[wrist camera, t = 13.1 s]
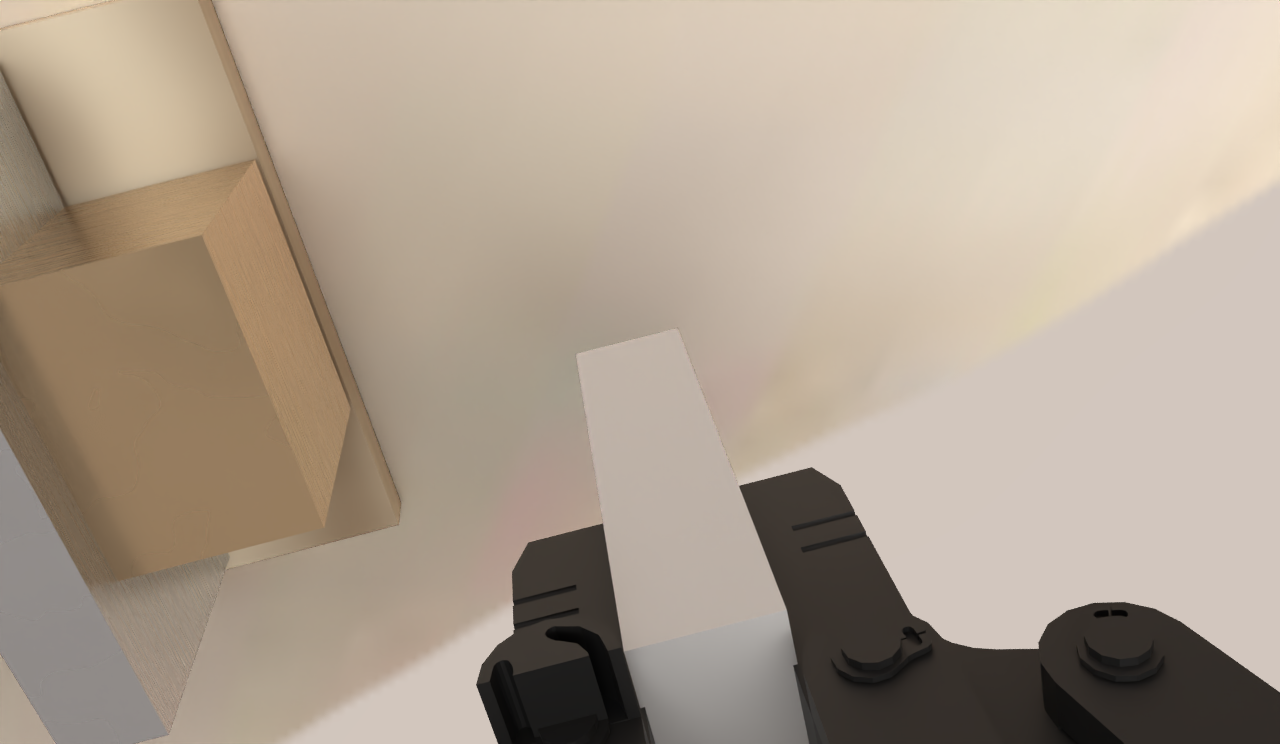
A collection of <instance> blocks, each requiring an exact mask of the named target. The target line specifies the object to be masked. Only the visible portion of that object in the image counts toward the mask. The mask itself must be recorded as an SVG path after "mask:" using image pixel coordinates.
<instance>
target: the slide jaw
mask: <svg viewBox="0 0 1280 744" xmlns="http://www.w3.org/2000/svg"><path fill="white" fill-rule="evenodd" d="M350 409H351V408H350V405H349V403H348V400H347V398H346V395H345V392H344V390H343V387H342V385H341V382H340V379H339V377H338V374H337V372H336V369H335V366H334V364H333V361H332V359H331V356H330V353H329V351H328V348H327V346H326V343H325V340H324V338H323V335H322V333H321V330H320V327H319V325H318V322H317V320H316V317H315V314H314V312H313V309H312V307H311V304H310V301H309V299H308V296H307V294H306V291H305V288H304V286H303V283H302V281H301V278H300V275H299V273H298V270H297V268H296V265H295V262H294V260H293V257H292V255H291V252H290V249H289V247H288V244H287V242H286V239H285V236H284V234H283V231H282V229H281V226H280V223H279V221H278V218H277V216H276V213H275V210H274V208H273V205H272V202H271V200H270V197H269V195H268V192H267V189H266V187H265V184H264V182H263V179H262V176H261V174H260V171H259V169H258V166H257V163H256V161H255V159H254V160H250V161H246V162H242V163H238V164H234V165H230V166H226V167H222V168H218V169H214V170H210V171H206V172H202V173H198V174H194V175H190V176H186V177H182V178H178V179H174V180H170V181H167V182H163V183H159V184H155V185H151V186H147V187H143V188H139V189H135V190H131V191H127V192H123V193H119V194H115V195H111V196H107V197H103V198H99V199H95V200H91V201H87V202H83V203H79V204H75V205H71V206H67V207H64V205H63V203H62V200H61V198H60V196H59V194H58V192H57V190H56V188H55V186H54V184H53V181H52V179H51V177H50V175H49V173H48V171H47V169H46V167H45V165H44V162H43V160H42V158H41V156H40V154H39V152H38V150H37V148H36V145H35V143H34V141H33V139H32V137H31V135H30V133H29V131H28V129H27V126H26V124H25V122H24V120H23V118H22V116H21V114H20V112H19V109H18V107H17V105H16V103H15V101H14V99H13V97H12V95H11V93H10V90H9V88H8V86H7V84H6V82H5V80H4V78H3V76H2V73H1V71H0V654H1V655H2V657H3V658H4V660H5V662H6V663H7V665H8V667H9V668H10V670H11V671H12V673H13V675H14V676H15V678H16V680H17V681H18V683H19V684H20V686H21V688H22V689H23V691H24V693H25V694H26V696H27V697H28V699H29V701H30V702H31V704H32V706H33V707H34V709H35V710H36V712H37V714H38V715H39V717H40V719H41V720H42V722H43V723H44V725H45V727H46V728H47V730H48V732H49V733H50V735H51V736H52V738H53V740H54V741H55V743H56V744H135V743H139V742H143V741H147V740H150V739H154V738H158V737H162V736H165V735H169V732H170V729H171V726H172V724H173V721H174V718H175V715H176V712H177V709H178V706H179V703H180V700H181V697H182V695H183V692H184V689H185V686H186V683H187V680H188V677H189V674H190V671H191V668H192V666H193V663H194V660H195V657H196V654H197V651H198V648H199V645H200V642H201V639H202V637H203V634H204V631H205V628H206V625H207V622H208V619H209V616H210V613H211V610H212V608H213V605H214V602H215V599H216V596H217V593H218V590H219V587H220V584H221V581H222V579H223V576H224V573H225V570H226V567H227V564H228V561H229V558H230V556H229V554H228V553H229V552H232V551H236V550H240V549H244V548H248V547H251V546H255V545H259V544H263V543H267V542H271V541H274V540H278V539H282V538H286V537H290V536H294V535H297V534H301V533H305V532H309V531H313V530H317V529H320V528H324V527H325V522H326V518H327V513H328V509H329V504H330V500H331V495H332V491H333V486H334V482H335V477H336V473H337V468H338V463H339V459H340V454H341V450H342V445H343V441H344V436H345V432H346V427H347V423H348V418H349V414H350Z"/></svg>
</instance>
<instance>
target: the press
mask: <svg viewBox="0 0 1280 744" xmlns="http://www.w3.org/2000/svg"><path fill="white" fill-rule="evenodd" d="M0 71H1V73H2V76H3V78H4V80H5V82H6V84H7V86H8V88H9V90H10V93H11V95H12V97H13V99H14V101H15V103H16V105H17V107H18V109H19V112H20V114H21V116H22V118H23V120H24V122H25V124H26V126H27V129H28V131H29V133H30V135H31V137H32V139H33V141H34V143H35V145H36V148H37V150H38V152H39V154H40V156H41V158H42V160H43V162H44V165H45V167H46V169H47V171H48V173H49V175H50V177H51V179H52V181H53V184H54V186H55V188H56V190H57V192H58V194H59V196H60V198H61V200H62V203H63V205H64V207H67V206H71V205H75V204H79V203H83V202H87V201H91V200H95V199H99V198H103V197H107V196H111V195H115V194H119V193H123V192H127V191H131V190H135V189H139V188H143V187H147V186H151V185H155V184H159V183H163V182H167V181H170V180H174V179H178V178H182V177H186V176H190V175H194V174H198V173H202V172H206V171H210V170H214V169H218V168H222V167H226V166H230V165H234V164H238V163H242V162H246V161H250V160H254V159H255V161H256V163H257V166H258V169H259V171H260V174H261V176H262V179H263V182H264V184H265V187H266V189H267V192H268V195H269V197H270V200H271V202H272V205H273V208H274V210H275V213H276V216H277V218H278V221H279V223H280V226H281V229H282V231H283V234H284V236H285V239H286V242H287V244H288V247H289V249H290V252H291V255H292V257H293V260H294V262H295V265H296V268H297V270H298V273H299V275H300V278H301V281H302V283H303V286H304V288H305V291H306V294H307V296H308V299H309V301H310V304H311V307H312V309H313V312H314V314H315V317H316V320H317V322H318V325H319V327H320V330H321V333H322V335H323V338H324V340H325V343H326V346H327V348H328V351H329V353H330V356H331V359H332V361H333V364H334V366H335V369H336V372H337V374H338V377H339V379H340V382H341V385H342V387H343V390H344V392H345V395H346V398H347V400H348V403H349V405H350V408H351V409H350V414H349V418H348V423H347V427H346V432H345V436H344V441H343V445H342V450H341V454H340V459H339V463H338V468H337V473H336V477H335V482H334V486H333V491H332V495H331V500H330V504H329V509H328V513H327V518H326V522H325V527H324V528H320V529H317V530H313V531H309V532H305V533H301V534H297V535H294V536H290V537H286V538H282V539H278V540H274V541H271V542H267V543H263V544H259V545H255V546H251V547H248V548H244V549H240V550H236V551H232V552H229V553H228V554H229V556H230V558H229V561H228V564H227V567H226V570H228V569H231V568H235V567H239V566H243V565H247V564H251V563H254V562H258V561H262V560H266V559H270V558H273V557H277V556H281V555H285V554H289V553H293V552H296V551H300V550H304V549H308V548H312V547H316V546H319V545H323V544H327V543H331V542H335V541H338V540H342V539H346V538H350V537H354V536H358V535H361V534H365V533H369V532H373V531H377V530H381V529H384V528H388V527H392V526H396V525H399V518H400V509H401V502H400V499H399V496H398V494H397V491H396V488H395V486H394V483H393V480H392V478H391V475H390V473H389V470H388V467H387V465H386V462H385V459H384V457H383V454H382V451H381V449H380V446H379V443H378V441H377V438H376V435H375V433H374V430H373V428H372V425H371V422H370V420H369V417H368V414H367V412H366V409H365V406H364V404H363V401H362V398H361V396H360V393H359V390H358V388H357V385H356V382H355V380H354V377H353V375H352V372H351V369H350V367H349V364H348V361H347V359H346V356H345V353H344V351H343V348H342V345H341V343H340V340H339V337H338V335H337V332H336V330H335V327H334V324H333V322H332V319H331V316H330V314H329V311H328V308H327V306H326V303H325V300H324V298H323V295H322V292H321V290H320V287H319V285H318V282H317V279H316V277H315V274H314V271H313V269H312V266H311V263H310V261H309V258H308V255H307V253H306V250H305V247H304V245H303V242H302V239H301V237H300V234H299V232H298V229H297V226H296V224H295V221H294V218H293V216H292V213H291V210H290V208H289V205H288V202H287V200H286V197H285V194H284V192H283V189H282V187H281V184H280V181H279V179H278V176H277V173H276V171H275V168H274V165H273V163H272V160H271V157H270V155H269V152H268V149H267V147H266V144H265V142H264V139H263V136H262V134H261V131H260V128H259V126H258V123H257V120H256V118H255V115H254V112H253V110H252V107H251V104H250V102H249V99H248V96H247V94H246V91H245V89H244V86H243V83H242V81H241V78H240V75H239V73H238V70H237V67H236V65H235V62H234V59H233V57H232V54H231V51H230V49H229V46H228V44H227V41H226V38H225V36H224V33H223V30H222V28H221V25H220V22H219V20H218V17H217V14H216V12H215V9H214V6H213V4H212V1H211V0H113V1H109V2H105V3H101V4H97V5H93V6H89V7H85V8H81V9H77V10H73V11H69V12H65V13H61V14H56V15H52V16H48V17H44V18H40V19H36V20H32V21H28V22H24V23H20V24H16V25H12V26H8V27H4V28H0Z"/></svg>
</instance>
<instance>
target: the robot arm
mask: <svg viewBox="0 0 1280 744" xmlns="http://www.w3.org/2000/svg"><path fill="white" fill-rule="evenodd" d="M576 360H577V366H578V372H579V378H580V384H581V391H582V397H583V403H584V409H585V415H586V421H587V428H588V434H589V440H590V446H591V452H592V458H593V465H594V471H595V477H596V483H597V489H598V495H599V502H600V508H601V514H602V520H603V524H600V525H596V526H592V527H588V528H584V529H580V530H576V531H572V532H568V533H564V534H560V535H556V536H552V537H549V538H545V539H541V540H537V541H533V542H529V543H528V544H527V546H526V548H525V550H524V551H523V553H522V555H521V557H520V559H519V561H518V562H517V564H516V566H515V568H514V570H513V571H512V583H513V603H514V606H513V620H514V621H513V623H514V628H515V630H514V634H513V635H512V636H510V637H509V638H507V639H506V640H505V641H503V642H502V643H500V644H499V645H497V647H496V648H495V649H494V650H493V652H492V653H491V654H490V655H489V657H488V658H487V659H486V660H485V662H484V663H483V664H482V667H481V670H480V674H479V677H478V681H477V684H476V685H477V688H478V691H479V693H480V696H481V699H482V701H483V704H484V707H485V710H486V712H487V715H488V718H489V720H490V723H491V726H492V728H493V731H494V734H495V736H496V739H497V742H498V744H1280V692H1278V691H1277V690H1276V689H1274V688H1273V687H1271V686H1270V685H1268V684H1267V683H1266V682H1264V681H1263V680H1261V679H1260V678H1259V677H1257V676H1256V675H1255V674H1253V673H1252V672H1250V671H1249V670H1248V669H1246V668H1245V667H1243V666H1242V665H1240V664H1239V663H1238V662H1236V661H1235V660H1234V659H1232V658H1231V657H1229V656H1228V655H1226V654H1225V653H1224V652H1222V651H1221V650H1219V649H1218V648H1217V647H1215V646H1214V645H1212V644H1211V643H1210V642H1208V641H1207V640H1205V639H1204V638H1203V637H1201V636H1200V635H1198V634H1197V633H1196V632H1194V631H1193V630H1191V629H1190V628H1188V627H1187V626H1186V625H1184V624H1183V623H1182V622H1180V621H1178V620H1176V619H1174V618H1172V617H1170V616H1168V615H1166V614H1164V613H1162V612H1160V611H1158V610H1156V609H1153V608H1149V607H1144V606H1139V605H1135V604H1130V603H1125V602H1115V603H1093V604H1089V605H1085V606H1082V607H1078V608H1075V609H1071V610H1068V611H1066V612H1065V613H1063V614H1062V615H1061V616H1060V617H1058V618H1056V619H1055V620H1053V621H1052V622H1051V623H1049V624H1048V625H1047V627H1046V629H1045V631H1044V633H1043V635H1042V637H1041V639H1040V641H1039V649H1003V650H1000V649H999V650H996V649H982V648H971V647H967V646H963V645H958V644H955V643H951V642H949V641H947V640H944V639H943V638H942V637H941V636H940V635H939V634H938V633H937V632H936V631H935V630H934V629H933V628H932V627H931V626H930V624H928V623H927V622H925V621H923V620H920V619H919V618H916V617H914V616H913V615H912V614H911V613H910V611H909V610H908V608H907V606H906V604H905V602H904V601H903V599H902V597H901V595H900V593H899V591H898V590H897V588H896V586H895V584H894V582H893V580H892V579H891V577H890V575H889V573H888V571H887V569H886V568H885V566H884V564H883V562H882V561H881V559H880V557H879V555H878V553H877V551H876V549H875V548H874V546H873V544H872V542H871V540H870V538H869V537H867V535H866V531H865V529H864V527H863V526H862V524H861V522H860V520H859V518H858V516H857V515H855V512H854V509H853V507H852V506H851V504H850V502H849V500H848V498H847V496H846V495H845V493H844V491H843V489H842V487H841V485H839V484H838V483H836V482H834V481H833V480H831V479H829V478H828V477H826V476H825V475H823V474H822V473H820V472H818V471H816V470H815V469H813V468H808V469H804V470H800V471H796V472H792V473H788V474H784V475H780V476H776V477H772V478H768V479H764V480H760V481H756V482H752V483H749V484H745V485H741V486H739V485H738V482H737V480H736V477H735V475H734V472H733V470H732V467H731V464H730V462H729V459H728V457H727V454H726V451H725V449H724V446H723V444H722V441H721V438H720V436H719V433H718V431H717V428H716V426H715V423H714V420H713V418H712V415H711V413H710V410H709V407H708V405H707V402H706V400H705V397H704V394H703V392H702V389H701V387H700V384H699V381H698V379H697V376H696V374H695V371H694V369H693V366H692V363H691V361H690V358H689V356H688V353H687V350H686V348H685V345H684V343H683V340H682V337H681V335H680V332H679V330H678V328H675V329H671V330H667V331H663V332H659V333H655V334H651V335H648V336H644V337H640V338H636V339H632V340H628V341H624V342H620V343H616V344H612V345H608V346H604V347H600V348H596V349H592V350H588V351H584V352H580V353H576Z"/></svg>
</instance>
